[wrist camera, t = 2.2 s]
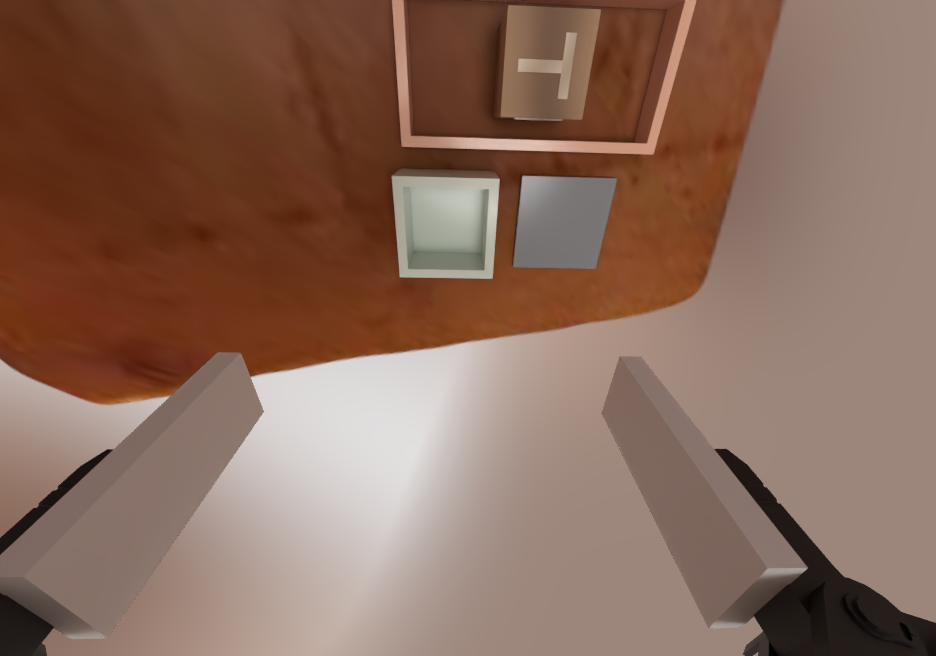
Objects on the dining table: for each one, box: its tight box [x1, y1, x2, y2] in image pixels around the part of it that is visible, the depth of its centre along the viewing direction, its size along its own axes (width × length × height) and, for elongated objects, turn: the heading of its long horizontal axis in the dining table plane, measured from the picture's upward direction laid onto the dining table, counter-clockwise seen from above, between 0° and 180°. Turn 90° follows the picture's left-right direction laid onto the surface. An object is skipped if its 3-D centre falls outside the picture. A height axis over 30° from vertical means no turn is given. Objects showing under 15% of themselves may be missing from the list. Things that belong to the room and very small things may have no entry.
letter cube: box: [493, 5, 601, 121], centre depth 25 cm, size 6×6×6 cm
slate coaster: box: [512, 175, 617, 269], centre depth 34 cm, size 9×9×1 cm
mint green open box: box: [392, 168, 500, 279], centre depth 31 cm, size 9×9×6 cm
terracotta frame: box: [392, 0, 696, 154], centre depth 27 cm, size 22×11×2 cm, turn 88°
